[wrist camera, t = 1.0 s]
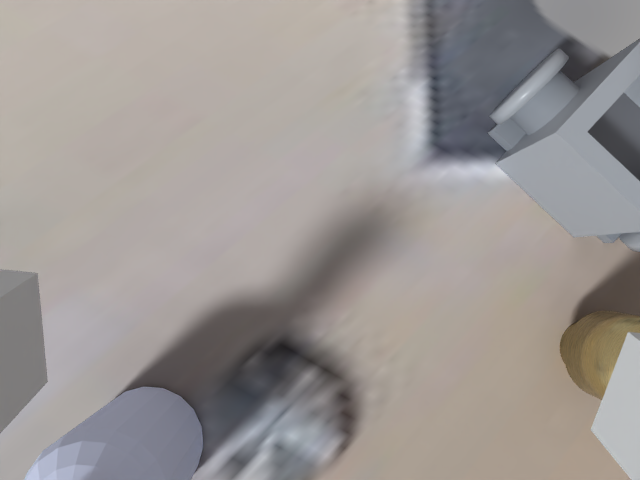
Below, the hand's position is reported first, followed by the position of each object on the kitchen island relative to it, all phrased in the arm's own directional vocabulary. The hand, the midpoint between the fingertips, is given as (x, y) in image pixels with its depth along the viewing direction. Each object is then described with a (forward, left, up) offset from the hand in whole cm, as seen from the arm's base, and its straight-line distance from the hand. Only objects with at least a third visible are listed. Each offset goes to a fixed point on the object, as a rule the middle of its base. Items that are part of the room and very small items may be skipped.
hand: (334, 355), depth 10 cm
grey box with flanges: (-9, -23, -28) cm, 38 cm away
